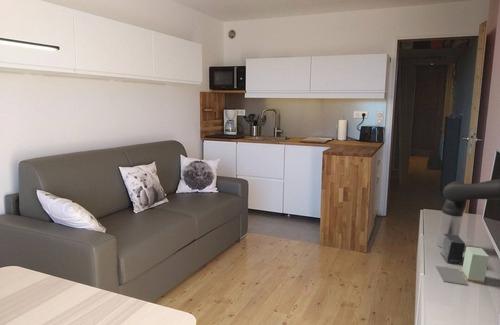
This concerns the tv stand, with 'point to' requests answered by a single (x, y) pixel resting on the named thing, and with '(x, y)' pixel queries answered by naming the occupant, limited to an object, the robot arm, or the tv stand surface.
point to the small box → (452, 249)
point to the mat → (451, 275)
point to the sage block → (475, 265)
